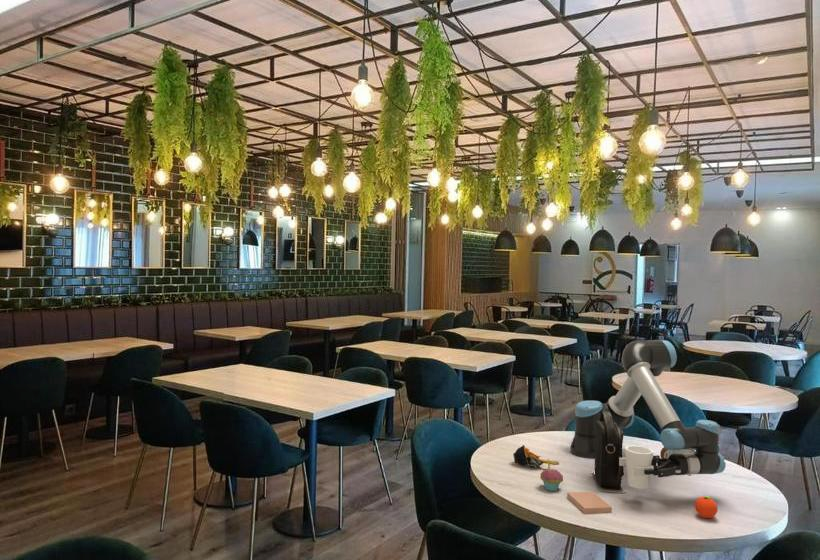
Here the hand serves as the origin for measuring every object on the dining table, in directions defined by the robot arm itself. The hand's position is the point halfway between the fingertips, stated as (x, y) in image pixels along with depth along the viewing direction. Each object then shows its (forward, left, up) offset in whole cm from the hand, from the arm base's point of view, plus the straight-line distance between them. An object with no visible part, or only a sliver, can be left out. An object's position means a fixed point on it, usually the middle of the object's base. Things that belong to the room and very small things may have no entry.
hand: (627, 466), depth 207 cm
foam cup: (+3, +3, -7) cm, 8 cm away
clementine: (+25, +7, -13) cm, 29 cm away
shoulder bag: (-13, +15, -13) cm, 24 cm away
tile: (-6, -7, -13) cm, 16 cm away
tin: (+3, +57, -14) cm, 59 cm away
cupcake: (-26, -7, -13) cm, 30 cm away
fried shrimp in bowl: (-42, +10, -14) cm, 46 cm away
